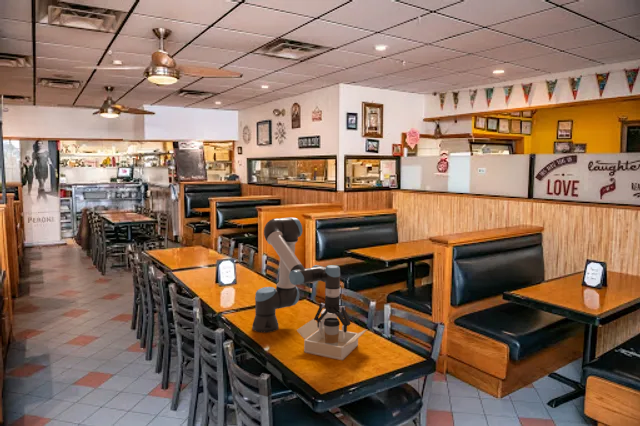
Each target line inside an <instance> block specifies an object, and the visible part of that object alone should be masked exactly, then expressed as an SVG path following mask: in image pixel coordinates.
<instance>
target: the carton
mask: <svg viewBox="0 0 640 426" xmlns="http://www.w3.org/2000/svg"><path fill="white" fill-rule="evenodd" d="M357 334H358V332H353V331H349V330H347V332H345V338H344V339H342V329H339V338H338V346H334V345H329V344H325V333H324V327H322V333H321V334H320V335H319V329H318V330H317V331H315V332H314V333H313V334H311V335H310V336H309V337H307V338H306V339H304V340H303V342H304V344H303V346H304V347H303V348H304V349H303V350H304V351H303V352H304V354H310V355H315V356H318V357H319V356H321V357H324V358H329V359H333V360H334V359H335V360H339V361H344V360H345V359H346V358H347V357H348V356H349V355H350V354H351V353H352V352H353V351H354V350H355V349H356V348H357V347H358V346H359V338H358V339H357V340H356V341H355V342H354V343H352V344H350V345H348V346H346V347H344V346H345V345H346V344H347V343H348V342H349V341H350V340H351V339H352V338H354V337H355V336H356V335H357Z"/></svg>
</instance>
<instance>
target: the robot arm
mask: <svg viewBox="0 0 640 426" xmlns="http://www.w3.org/2000/svg"><path fill="white" fill-rule="evenodd" d="M302 234H303V224H302V223H301V221H300V219H298V217H297V218H296V217H290V216H289V217H281V218H272V219H269V220H268V221H267V223H266V224H265V226H264V228H263V236H264V239H265V241H266V242H267V244H268V245H271V246H272V248H273V249H274V251H275V252H276V254H277V256H278V257H279V271H278V272H279V275H278V282H277V283H276V288H275V287H274V286H264V287H261V288H259V289H257V290H256V292H255V297H254V298H255V301H254V302H255V303H254V304H255V306H254V307H255V313H254V314H255V315H254V319H253V322H252V327H251V328H252V331H255V332H256V333H257V332H258V333H272V332H276V331H278V330H279V323H278V319H277V316H276V310H278V309H282V308H283V309H284V308H287V307H289V308H290V307H292V306H295V305H297V304H298V303H299V300H300V292H299V288H298V287H297V285H303V284H311V283H315V282H323V283H325V288H324V289H325V294H324V295H325V297H324V300H325V301H324V302H321V303H319V306H318V310H317V311H316V314H315V315H314V317H313V319H314V320H315V321H316V322H317V327H318V328H319V329H318V330H319V335H320V334H321V333H322V321H321V320H322V318H323V317H324V316H325V315H326V314H327V313H332V314H336V316H337V319H339V322H341V323H340V324H342V326H341V330H342V339H344V338H345V332H347V331H348V327H349V326H350V325H352V323H351V320H350V317H349V315H348V313H347V309H346V305H343V306H340V305H341V304H340V303H341V302H340V301H341V297H340V294H341V268H340V266H339V265H334V264H331V265H327V266H322V265H319V264H315V265H312V267H307V268H305V267H304V265H303V264H302V263H301V261H300V259H298V257H297V255H296V254H295V253H296V243H298V241H299V237H301V236H302ZM323 309H326V310H325V311H324V313H323V314H322V315H321V312H322V311H323Z"/></svg>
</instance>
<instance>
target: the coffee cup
mask: <svg viewBox="0 0 640 426" xmlns="http://www.w3.org/2000/svg"><path fill="white" fill-rule="evenodd" d="M340 322H341V321H340V320H339V318H338V317H337V318H326V319H325V321H324V333H325V344H329V345H334V346H338V338H339V330H340V325H341V323H340Z"/></svg>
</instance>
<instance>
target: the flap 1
mask: <svg viewBox="0 0 640 426" xmlns="http://www.w3.org/2000/svg"><path fill="white" fill-rule="evenodd" d="M318 330H319V328H318V327H317V321H316V320H314V318H312V319H311V320H309V321H307V322H306V323H305V324H304V325H302V326H301V327H299V328H298V329H296V331H297V333H298V334H299V335H300V336H301V337H302V339H304V340H305V339H307V338H308V337H309V336H311V335H312V334H313V333H315V332H316V331H318Z"/></svg>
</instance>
